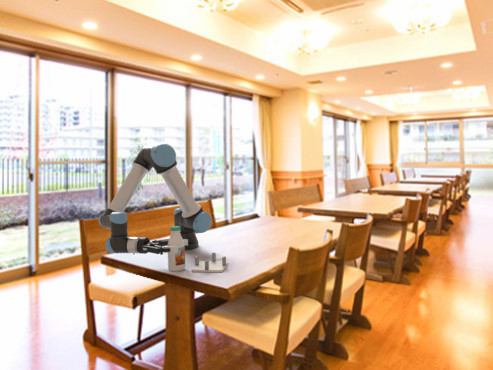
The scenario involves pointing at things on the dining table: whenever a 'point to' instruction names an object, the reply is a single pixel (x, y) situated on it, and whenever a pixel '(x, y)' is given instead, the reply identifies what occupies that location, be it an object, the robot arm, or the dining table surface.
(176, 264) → the milk bottle
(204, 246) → the dining table surface
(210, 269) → the white peg board
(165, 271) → the dining table surface
